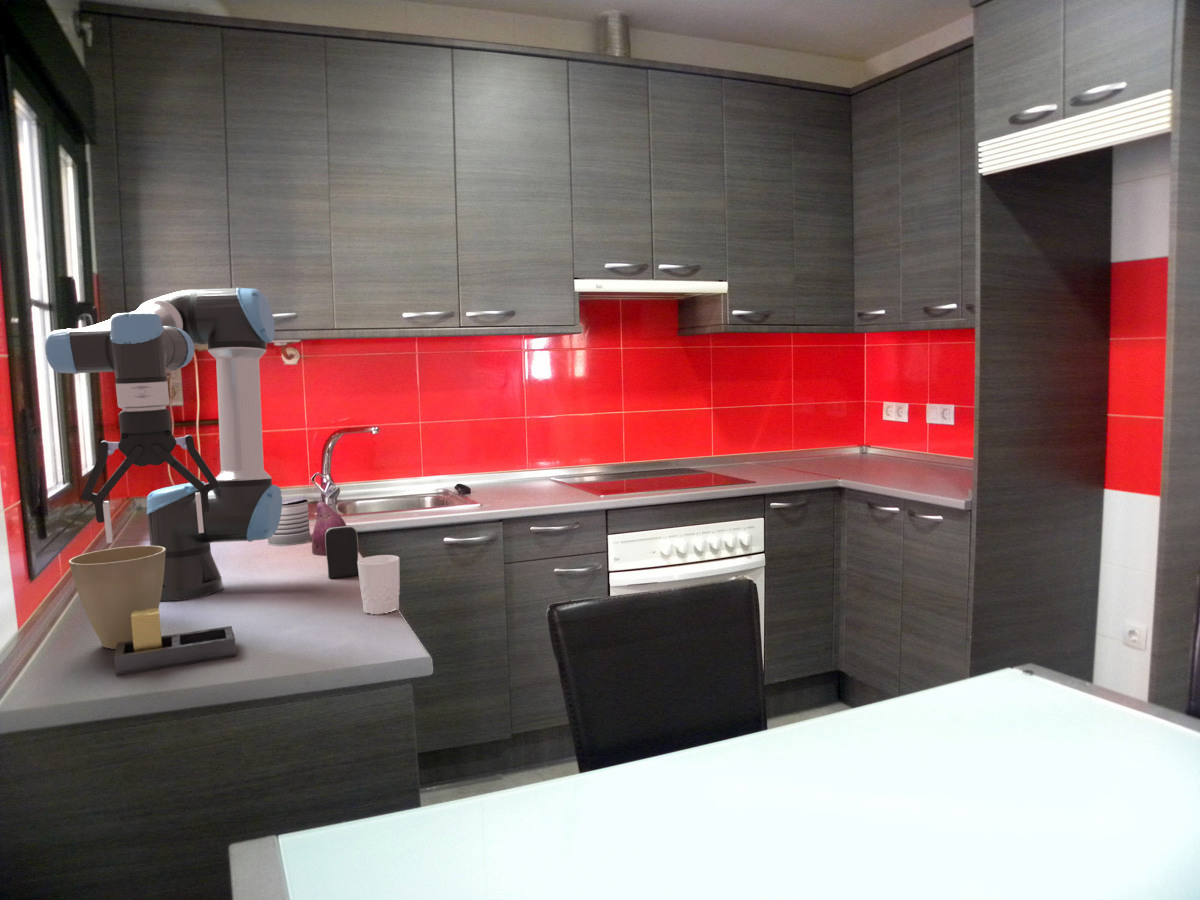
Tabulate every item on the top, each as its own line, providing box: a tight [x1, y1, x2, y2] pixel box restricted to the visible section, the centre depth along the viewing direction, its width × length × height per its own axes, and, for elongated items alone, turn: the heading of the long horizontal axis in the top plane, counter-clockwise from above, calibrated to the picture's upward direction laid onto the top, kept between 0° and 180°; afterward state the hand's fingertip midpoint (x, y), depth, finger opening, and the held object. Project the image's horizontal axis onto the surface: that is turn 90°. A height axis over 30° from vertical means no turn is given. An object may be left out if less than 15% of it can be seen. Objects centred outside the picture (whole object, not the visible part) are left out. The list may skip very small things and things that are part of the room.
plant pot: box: [68, 545, 166, 650], centre depth 157 cm, size 15×15×16 cm
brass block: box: [131, 607, 162, 652], centre depth 146 cm, size 4×4×8 cm
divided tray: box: [114, 625, 237, 677], centre depth 148 cm, size 8×18×3 cm, turn 116°
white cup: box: [357, 554, 401, 615], centre depth 173 cm, size 8×8×10 cm
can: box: [267, 495, 311, 547], centre depth 244 cm, size 11×11×12 cm
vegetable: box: [311, 499, 348, 556], centre depth 229 cm, size 10×10×15 cm
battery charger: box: [325, 525, 359, 579], centre depth 202 cm, size 7×4×11 cm, turn 109°
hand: (156, 536), depth 148 cm, fingers open, 13 cm apart
